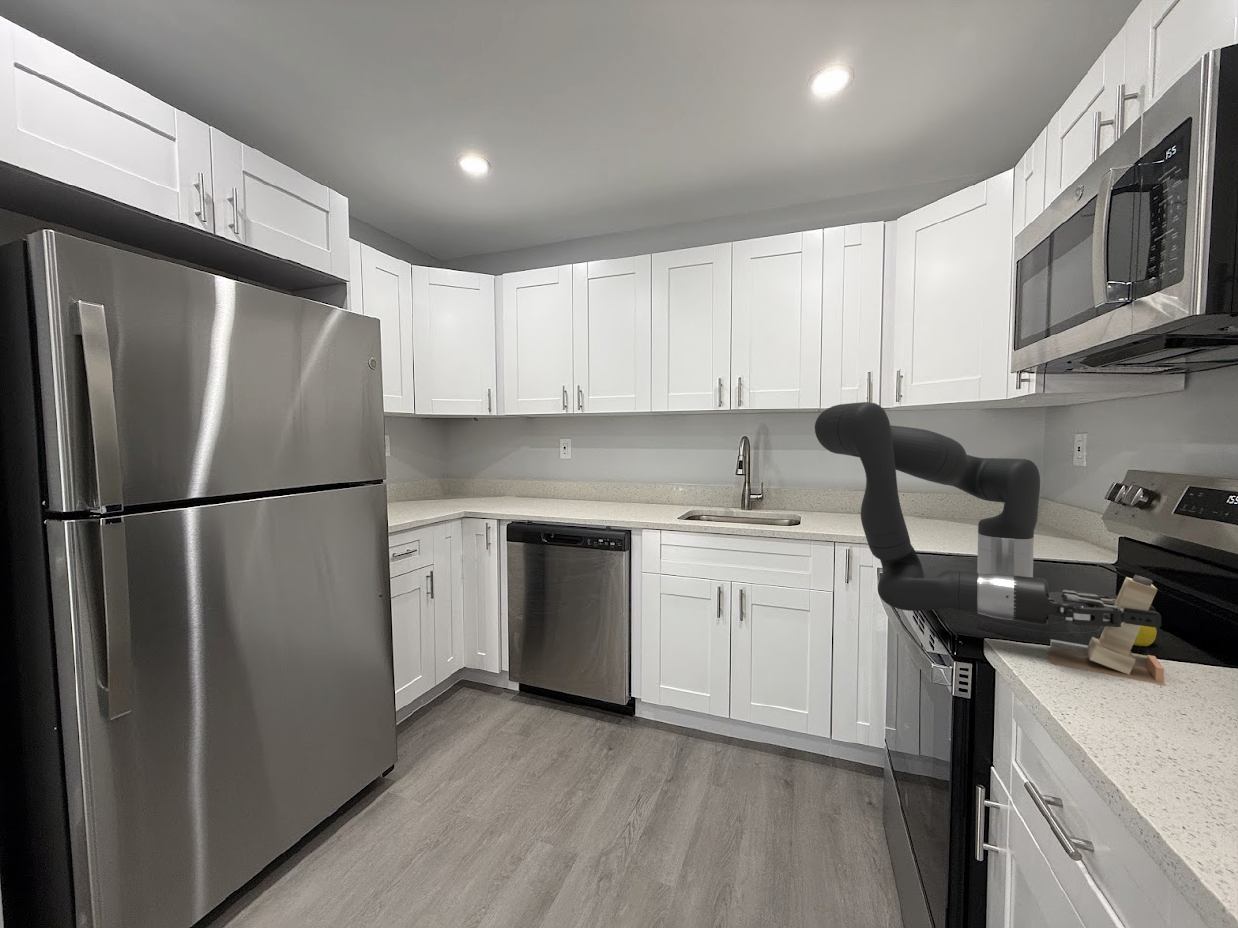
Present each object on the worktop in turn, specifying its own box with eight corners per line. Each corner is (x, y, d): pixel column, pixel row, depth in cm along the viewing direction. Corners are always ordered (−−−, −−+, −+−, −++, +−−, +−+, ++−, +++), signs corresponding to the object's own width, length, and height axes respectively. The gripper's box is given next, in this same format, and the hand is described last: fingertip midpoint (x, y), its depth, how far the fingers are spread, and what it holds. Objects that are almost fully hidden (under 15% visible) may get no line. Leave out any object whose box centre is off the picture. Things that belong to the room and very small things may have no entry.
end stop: (1147, 667, 78) (1147, 654, 78) (1154, 669, 77) (1154, 656, 77) (1155, 680, 74) (1156, 667, 74) (1163, 682, 73) (1164, 668, 73)
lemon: (1140, 645, 90) (1142, 601, 90) (1164, 658, 85) (1166, 611, 85) (1103, 642, 92) (1104, 599, 92) (1124, 654, 86) (1125, 608, 86)
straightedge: (1050, 647, 86) (1050, 639, 86) (1147, 665, 79) (1148, 655, 79) (1051, 650, 85) (1051, 641, 85) (1149, 668, 78) (1150, 658, 78)
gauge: (1086, 650, 82) (1120, 569, 79) (1123, 664, 79) (1160, 580, 76) (1090, 659, 78) (1126, 575, 75) (1129, 674, 76) (1168, 587, 73)
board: (1046, 655, 86) (1046, 646, 86) (1151, 675, 79) (1152, 665, 79) (1050, 672, 80) (1050, 663, 80) (1165, 695, 72) (1165, 685, 72)
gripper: (1012, 584, 80) (1170, 603, 69) (1010, 567, 91) (1147, 581, 81) (1011, 631, 80) (1169, 657, 70) (1010, 608, 91) (1146, 628, 81)
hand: (1156, 616), depth 75 cm, fingers closed on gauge, 3 cm apart
